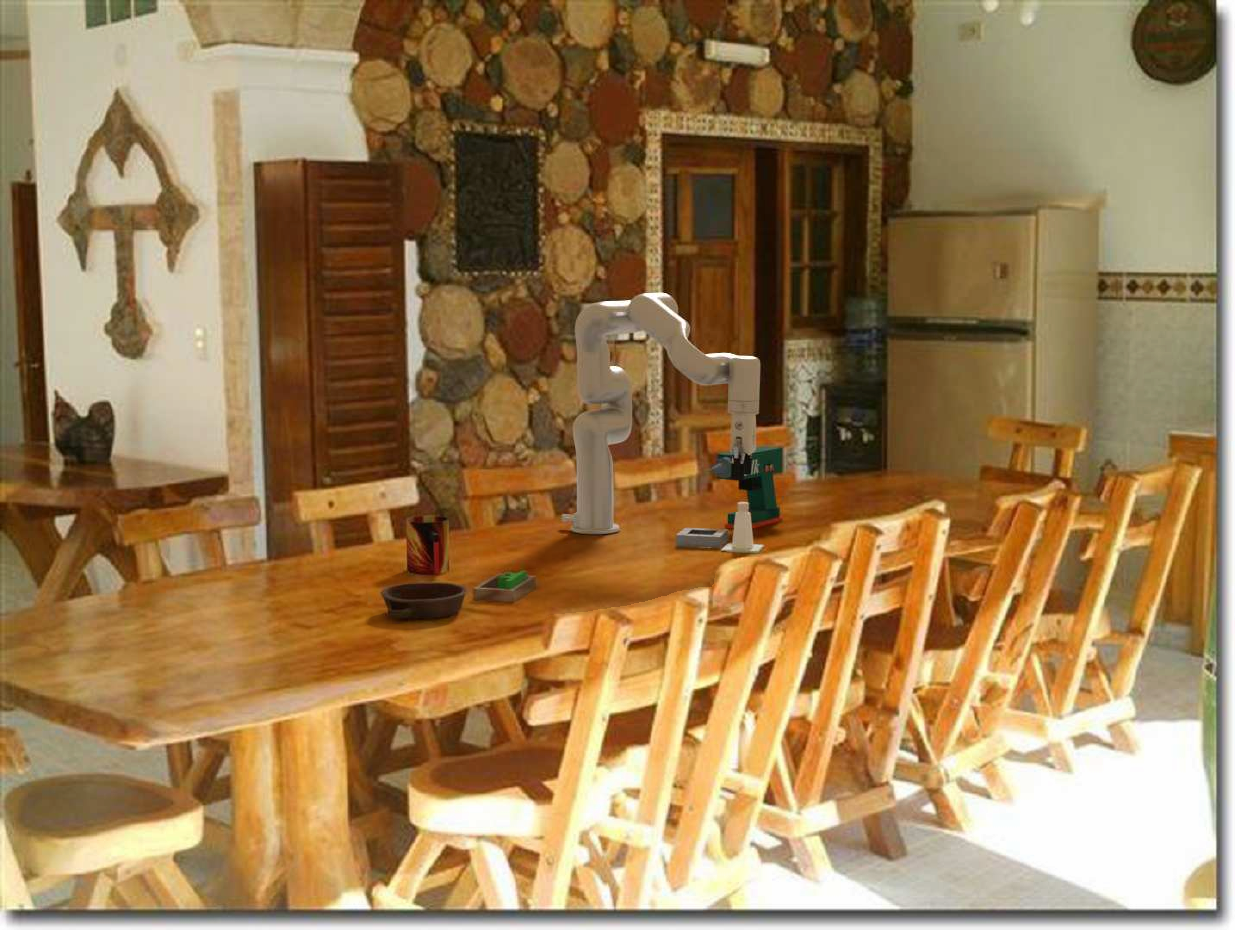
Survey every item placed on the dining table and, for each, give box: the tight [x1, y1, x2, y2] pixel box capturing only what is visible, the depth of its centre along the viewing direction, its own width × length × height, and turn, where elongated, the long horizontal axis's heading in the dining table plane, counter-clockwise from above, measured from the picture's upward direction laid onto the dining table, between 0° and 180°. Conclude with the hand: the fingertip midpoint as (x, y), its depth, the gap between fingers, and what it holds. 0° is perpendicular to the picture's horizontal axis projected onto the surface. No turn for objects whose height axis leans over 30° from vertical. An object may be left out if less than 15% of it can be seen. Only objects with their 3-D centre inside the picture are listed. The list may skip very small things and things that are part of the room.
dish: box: [379, 581, 469, 620], centre depth 340 cm, size 18×22×5 cm
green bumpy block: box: [497, 570, 528, 589], centre depth 357 cm, size 11×4×5 cm, turn 166°
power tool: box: [706, 445, 783, 529], centre depth 441 cm, size 32×7×20 cm, turn 143°
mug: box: [405, 515, 450, 576], centre depth 383 cm, size 10×14×12 cm
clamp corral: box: [472, 573, 537, 603], centre depth 359 cm, size 9×16×2 cm, turn 166°
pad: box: [720, 542, 765, 554], centre depth 411 cm, size 9×9×1 cm
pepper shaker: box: [731, 501, 754, 549], centre depth 410 cm, size 5×5×11 cm
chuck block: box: [675, 527, 729, 549], centre depth 418 cm, size 11×11×3 cm
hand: (741, 476), depth 409 cm, fingers open, 9 cm apart
